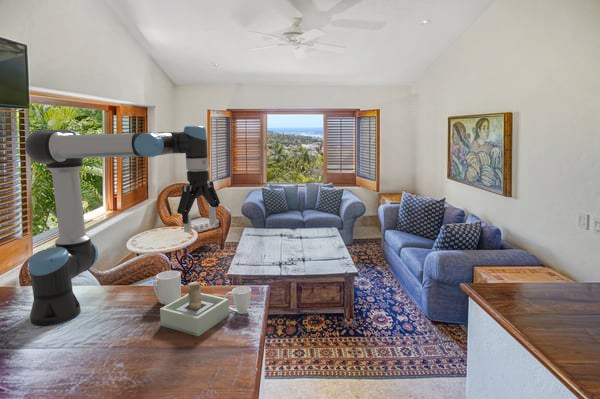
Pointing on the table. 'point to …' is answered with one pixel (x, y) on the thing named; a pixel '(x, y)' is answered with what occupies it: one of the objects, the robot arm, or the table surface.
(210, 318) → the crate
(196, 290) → the peg
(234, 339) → the table surface
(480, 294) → the table surface
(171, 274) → the mug
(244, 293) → the cup
